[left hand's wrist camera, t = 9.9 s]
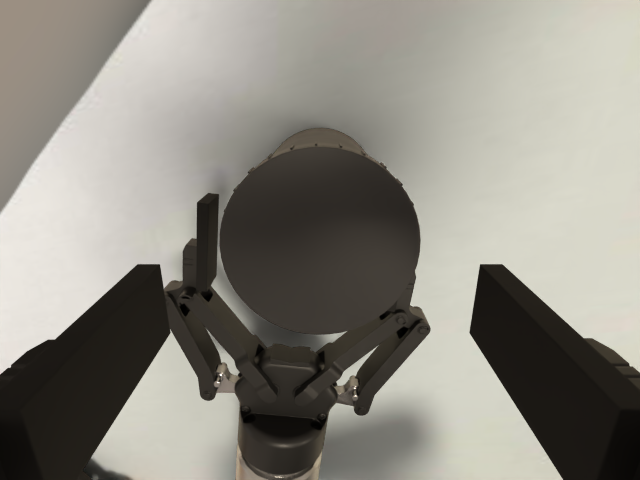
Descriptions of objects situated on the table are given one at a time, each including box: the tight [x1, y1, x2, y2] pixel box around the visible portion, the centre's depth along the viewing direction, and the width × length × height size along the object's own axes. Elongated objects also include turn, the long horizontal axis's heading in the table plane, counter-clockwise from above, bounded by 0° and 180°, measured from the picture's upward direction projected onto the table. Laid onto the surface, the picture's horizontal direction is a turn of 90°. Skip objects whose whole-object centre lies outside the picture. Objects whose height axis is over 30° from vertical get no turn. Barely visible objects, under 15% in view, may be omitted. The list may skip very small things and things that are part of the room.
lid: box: [220, 141, 420, 334], centre depth 19 cm, size 10×10×2 cm
